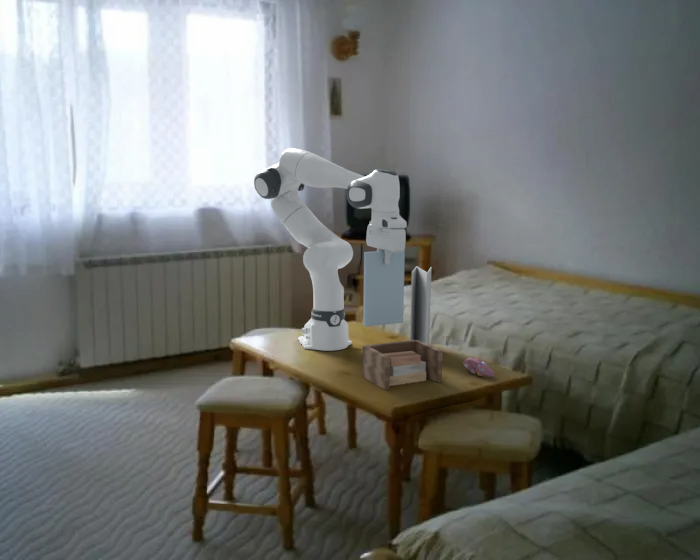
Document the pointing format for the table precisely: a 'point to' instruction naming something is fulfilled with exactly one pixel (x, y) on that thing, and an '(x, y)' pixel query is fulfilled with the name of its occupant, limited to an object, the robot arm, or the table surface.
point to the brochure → (420, 305)
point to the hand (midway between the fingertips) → (384, 263)
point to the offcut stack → (406, 368)
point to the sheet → (383, 289)
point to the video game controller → (478, 367)
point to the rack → (379, 363)
